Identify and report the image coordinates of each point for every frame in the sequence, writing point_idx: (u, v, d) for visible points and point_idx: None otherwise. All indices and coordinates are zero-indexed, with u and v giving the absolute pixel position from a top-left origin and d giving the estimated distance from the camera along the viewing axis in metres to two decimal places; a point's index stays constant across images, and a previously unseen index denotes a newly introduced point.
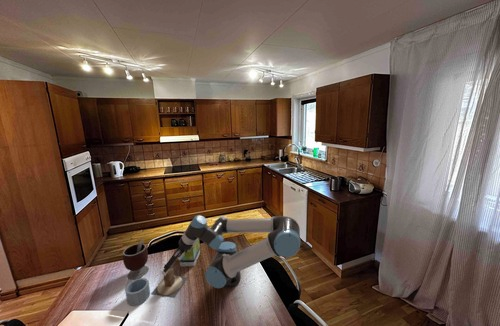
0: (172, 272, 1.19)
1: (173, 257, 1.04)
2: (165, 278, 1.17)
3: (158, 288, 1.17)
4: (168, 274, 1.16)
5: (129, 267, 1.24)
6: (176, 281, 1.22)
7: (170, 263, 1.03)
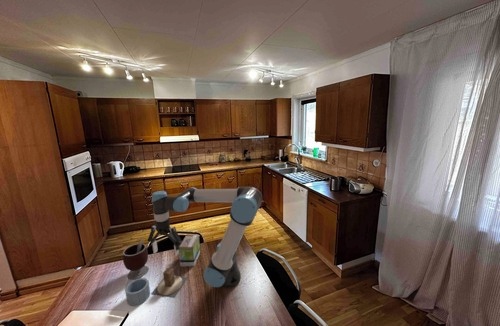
0: (172, 272, 1.19)
1: None
2: (165, 278, 1.17)
3: (158, 288, 1.17)
4: (168, 274, 1.16)
5: (129, 267, 1.24)
6: (176, 281, 1.22)
7: None
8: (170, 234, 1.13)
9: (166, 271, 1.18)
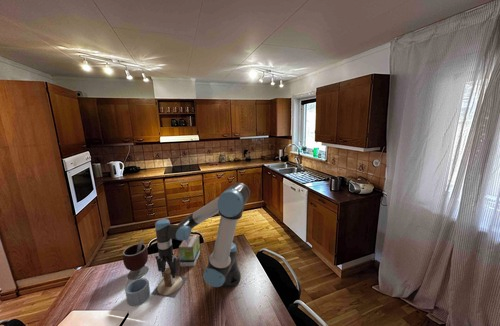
0: None
1: None
2: (165, 278, 1.17)
3: (158, 288, 1.17)
4: (168, 274, 1.16)
5: (129, 267, 1.24)
6: (176, 281, 1.22)
7: None
8: (171, 262, 1.16)
9: (166, 271, 1.18)
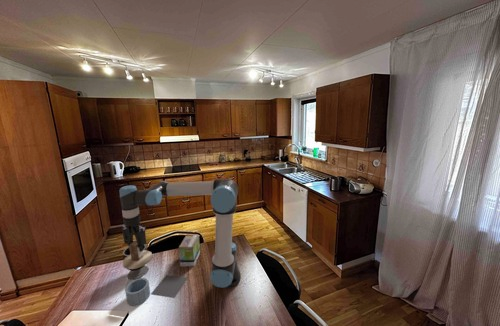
0: None
1: None
2: (131, 251, 1.07)
3: (124, 262, 1.07)
4: (135, 246, 1.06)
5: None
6: (145, 256, 1.11)
7: None
8: (138, 233, 1.06)
9: (133, 243, 1.07)
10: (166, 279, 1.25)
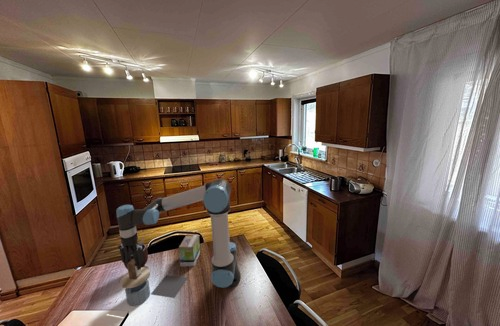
0: None
1: None
2: (129, 270, 1.07)
3: (121, 280, 1.07)
4: (132, 265, 1.06)
5: None
6: (143, 273, 1.12)
7: None
8: (135, 252, 1.07)
9: (131, 262, 1.08)
10: (166, 279, 1.25)
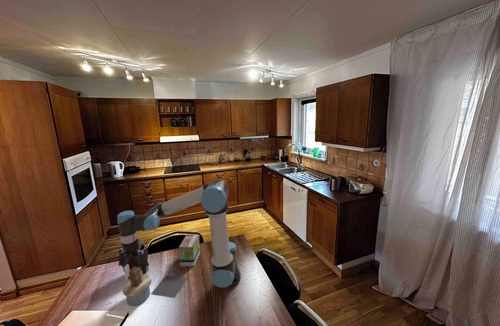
0: (139, 271, 1.10)
1: None
2: (131, 277, 1.08)
3: (123, 288, 1.08)
4: (134, 273, 1.07)
5: (129, 267, 1.24)
6: (144, 281, 1.13)
7: None
8: (138, 257, 1.07)
9: (132, 270, 1.09)
10: (166, 279, 1.25)
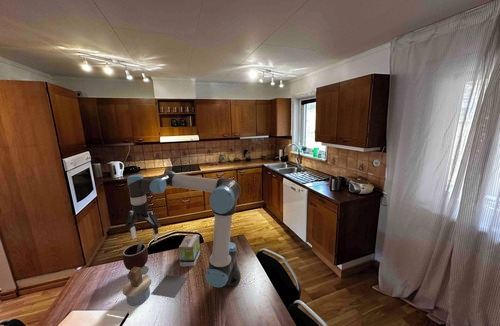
0: (139, 271, 1.10)
1: None
2: (131, 277, 1.08)
3: (123, 288, 1.08)
4: (134, 273, 1.07)
5: (129, 267, 1.24)
6: (144, 281, 1.13)
7: None
8: (148, 218, 1.10)
9: (132, 270, 1.09)
10: (166, 279, 1.25)
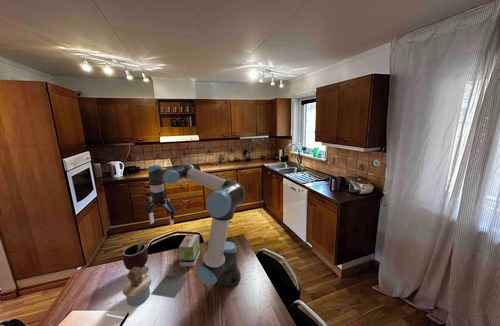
0: (139, 271, 1.10)
1: None
2: (131, 277, 1.08)
3: (123, 288, 1.08)
4: (134, 273, 1.07)
5: (129, 267, 1.24)
6: (144, 281, 1.13)
7: None
8: (165, 205, 1.21)
9: (132, 270, 1.09)
10: (166, 279, 1.25)
